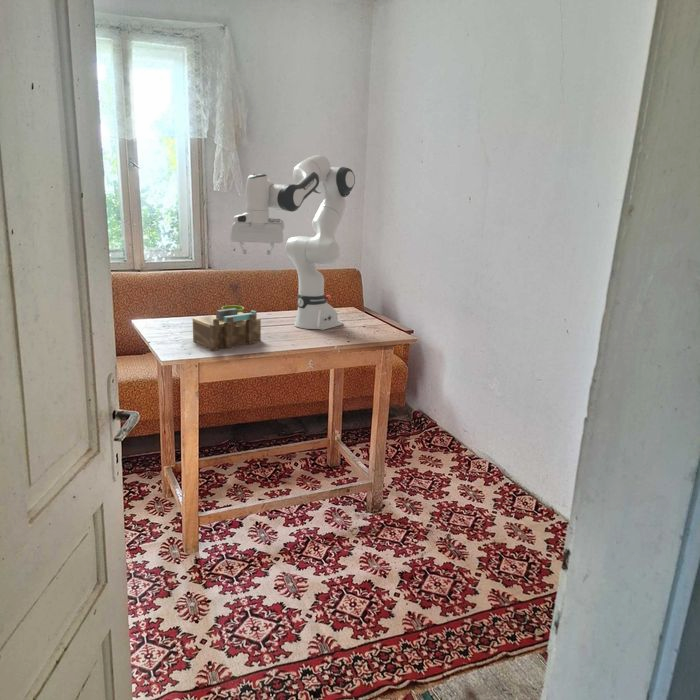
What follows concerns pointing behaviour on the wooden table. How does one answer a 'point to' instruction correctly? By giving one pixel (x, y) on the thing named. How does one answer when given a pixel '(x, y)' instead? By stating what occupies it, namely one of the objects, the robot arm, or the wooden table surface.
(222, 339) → the wooden crate
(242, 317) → the bar
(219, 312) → the lid
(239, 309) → the plant pot
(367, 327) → the wooden table surface
